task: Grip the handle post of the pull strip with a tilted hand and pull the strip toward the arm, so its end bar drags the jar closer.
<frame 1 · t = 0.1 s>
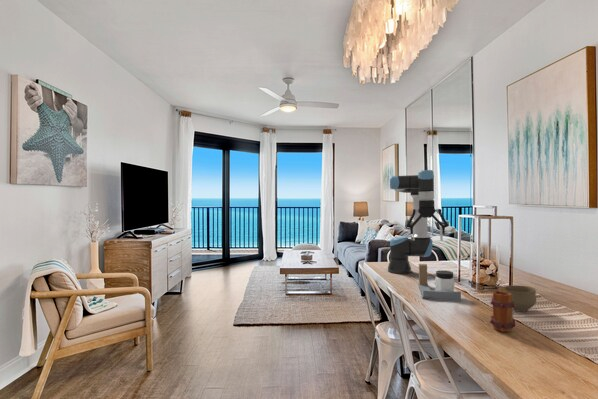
hand: (427, 240, 173), 28 cm above the table, tool pointing down, fingers open, 13 cm apart
jar: (444, 295, 170), on the table
bowl: (518, 310, 147), on the table
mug: (502, 328, 128), on the table
pull strip: (437, 280, 175), point 6 cm above the table, slide at 0.0 cm
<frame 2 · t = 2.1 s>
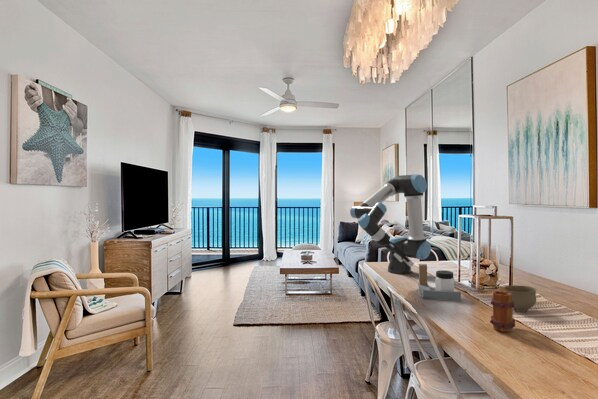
hand: (407, 262, 186), 14 cm above the table, tool tilted 45°, fingers open, 13 cm apart
nothing on the table moved.
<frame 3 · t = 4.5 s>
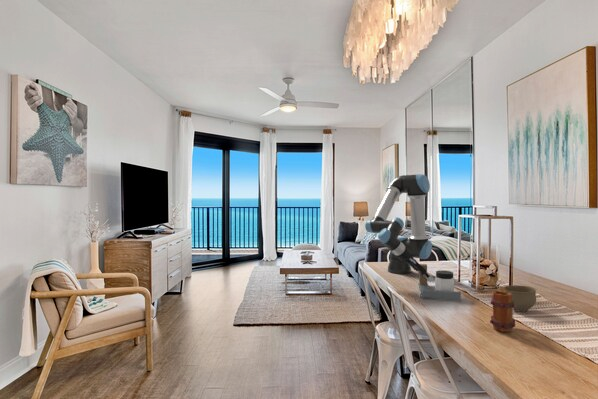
hand: (429, 279, 188), 4 cm above the table, tool tilted 45°, fingers closed on pull strip, 5 cm apart
pull strip: (437, 280, 175), point 6 cm above the table, slide at 0.0 cm, touching gripper
everything else where it was.
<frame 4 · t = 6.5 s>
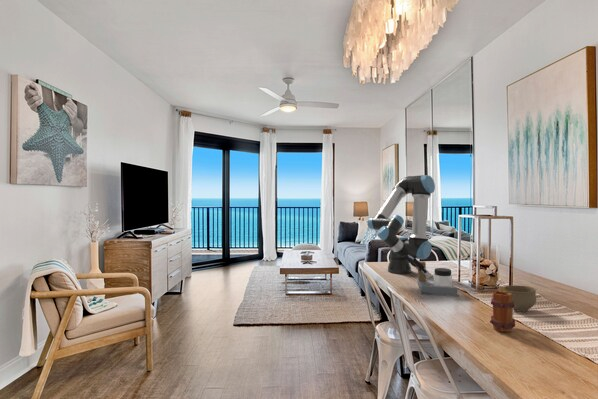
hand: (426, 274, 195), 5 cm above the table, tool tilted 45°, fingers closed on pull strip, 5 cm apart
jar: (443, 292, 175), on the table
pull strip: (435, 277, 183), point 6 cm above the table, slide at 7.9 cm, touching gripper
everything else where it was.
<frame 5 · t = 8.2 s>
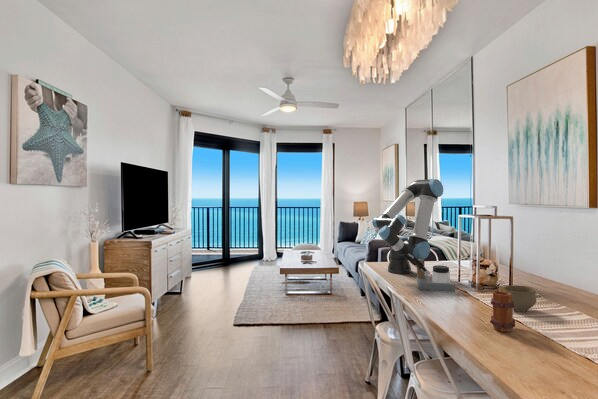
hand: (426, 273, 202), 4 cm above the table, tool tilted 45°, fingers closed on pull strip, 5 cm apart
jar: (441, 289, 182), on the table, touching pull strip
pull strip: (434, 274, 189), point 6 cm above the table, slide at 14.8 cm, touching gripper, jar
everything else where it was.
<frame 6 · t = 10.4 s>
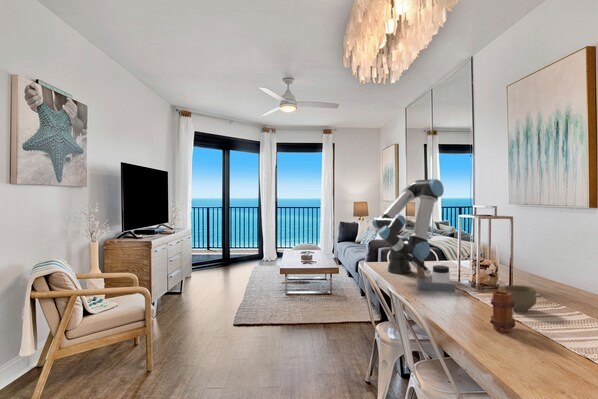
hand: (424, 270, 202), 5 cm above the table, tool tilted 45°, fingers open, 13 cm apart
jar: (441, 288, 182), on the table
pull strip: (434, 274, 189), point 6 cm above the table, slide at 14.9 cm
everything else where it was.
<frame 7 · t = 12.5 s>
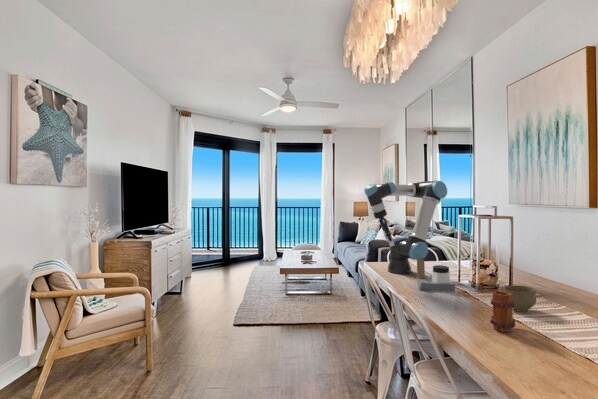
hand: (390, 243, 201), 23 cm above the table, tool tilted 20°, fingers open, 13 cm apart
nothing on the table moved.
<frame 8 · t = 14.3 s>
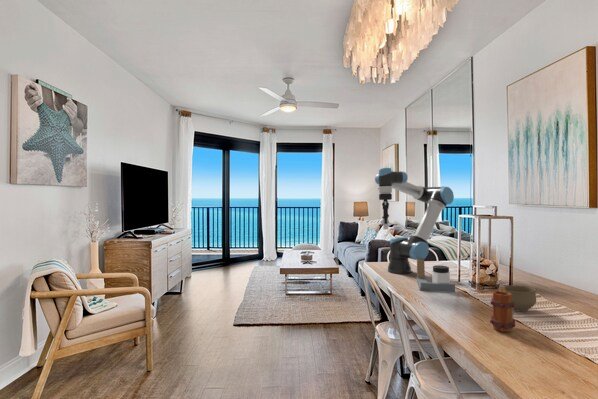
hand: (386, 228, 202), 32 cm above the table, tool pointing down, fingers open, 13 cm apart
nothing on the table moved.
at the end: jar inside the target area (0.6 cm from its centre), on the table; jar tilted 0°; pull strip slide at 14.9 cm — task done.
